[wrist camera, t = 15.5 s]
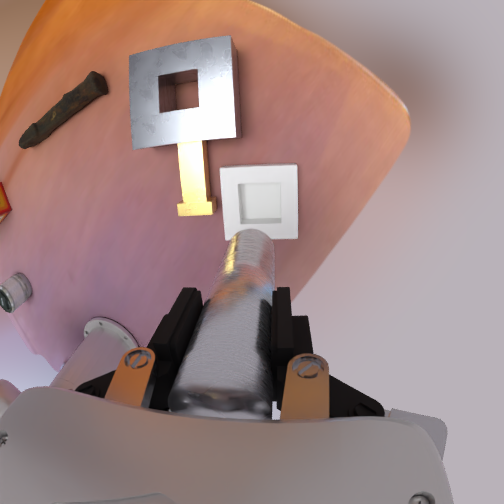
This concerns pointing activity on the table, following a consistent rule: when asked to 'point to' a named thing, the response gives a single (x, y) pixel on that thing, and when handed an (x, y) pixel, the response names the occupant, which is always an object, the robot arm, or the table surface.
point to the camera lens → (14, 292)
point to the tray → (260, 199)
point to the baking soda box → (3, 204)
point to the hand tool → (64, 109)
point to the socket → (164, 94)
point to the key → (195, 180)
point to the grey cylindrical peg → (232, 338)
